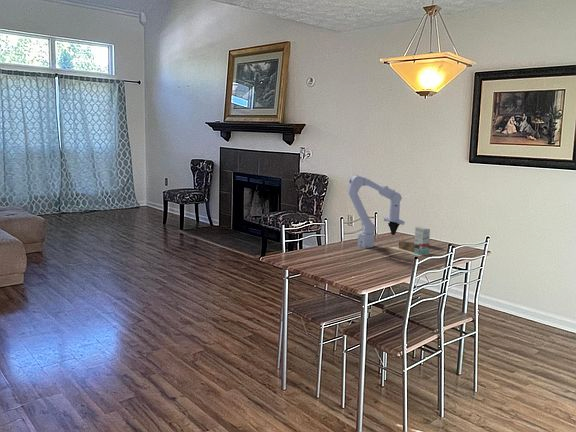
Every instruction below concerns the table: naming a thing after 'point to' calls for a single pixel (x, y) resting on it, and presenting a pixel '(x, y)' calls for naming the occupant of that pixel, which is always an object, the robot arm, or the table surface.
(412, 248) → the brown rectangular block
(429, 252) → the board
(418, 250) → the end cap
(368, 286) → the table surface
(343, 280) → the table surface
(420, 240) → the ink box
